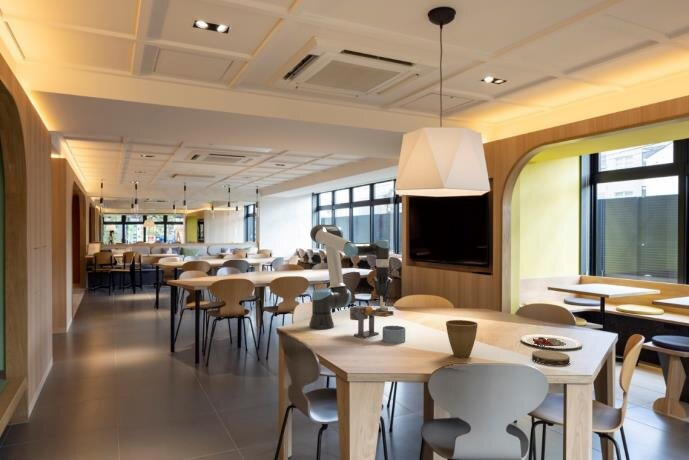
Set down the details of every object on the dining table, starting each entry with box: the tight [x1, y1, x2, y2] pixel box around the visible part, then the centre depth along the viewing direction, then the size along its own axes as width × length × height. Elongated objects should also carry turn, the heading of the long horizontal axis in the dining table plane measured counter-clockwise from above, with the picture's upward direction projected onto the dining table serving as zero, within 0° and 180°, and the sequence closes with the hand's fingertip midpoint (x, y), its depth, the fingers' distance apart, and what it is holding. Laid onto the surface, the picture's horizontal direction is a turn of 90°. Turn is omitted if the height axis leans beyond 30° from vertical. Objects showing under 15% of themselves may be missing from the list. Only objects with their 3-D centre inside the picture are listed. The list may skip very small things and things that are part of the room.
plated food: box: [520, 333, 583, 350], centre depth 244 cm, size 30×30×3 cm
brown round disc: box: [531, 349, 571, 366], centre depth 211 cm, size 16×16×3 cm
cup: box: [382, 325, 406, 345], centre depth 247 cm, size 12×12×7 cm
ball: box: [366, 305, 374, 312], centre depth 259 cm, size 4×4×4 cm
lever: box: [349, 305, 394, 321], centre depth 260 cm, size 25×14×7 cm, turn 50°
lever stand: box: [353, 313, 380, 339], centre depth 260 cm, size 8×13×14 cm, turn 140°
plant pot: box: [445, 319, 479, 359], centre depth 219 cm, size 15×15×16 cm
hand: (382, 307), depth 261 cm, fingers closed
